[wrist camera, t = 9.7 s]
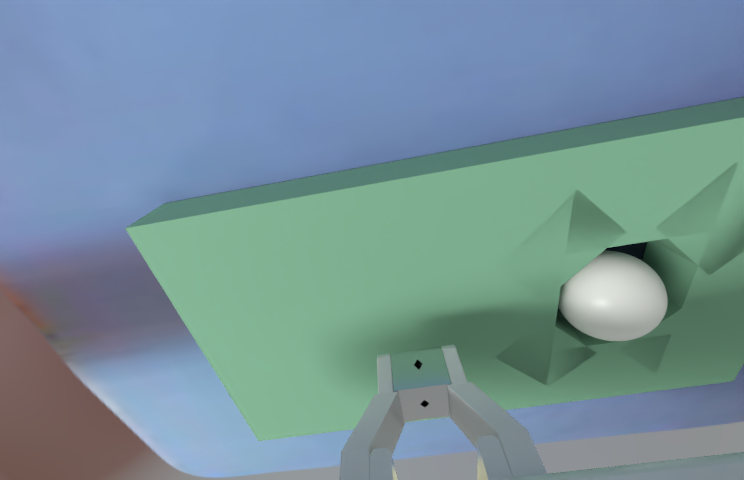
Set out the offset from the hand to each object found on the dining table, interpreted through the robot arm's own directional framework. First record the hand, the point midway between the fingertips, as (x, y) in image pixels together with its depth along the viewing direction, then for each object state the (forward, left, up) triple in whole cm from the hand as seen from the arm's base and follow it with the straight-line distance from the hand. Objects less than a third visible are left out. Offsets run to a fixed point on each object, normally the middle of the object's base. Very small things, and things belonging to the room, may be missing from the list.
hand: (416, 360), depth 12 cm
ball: (+1, +9, -3) cm, 9 cm away
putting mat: (0, +3, -5) cm, 6 cm away
